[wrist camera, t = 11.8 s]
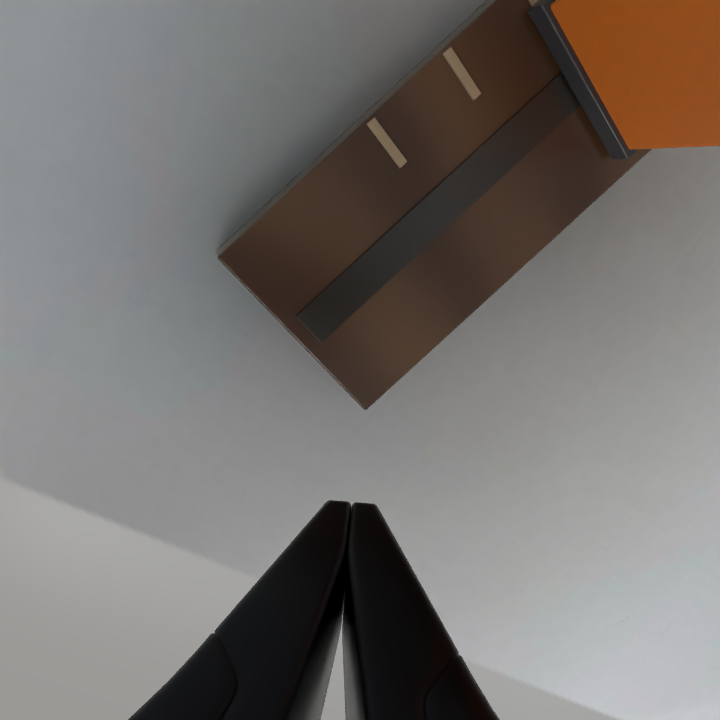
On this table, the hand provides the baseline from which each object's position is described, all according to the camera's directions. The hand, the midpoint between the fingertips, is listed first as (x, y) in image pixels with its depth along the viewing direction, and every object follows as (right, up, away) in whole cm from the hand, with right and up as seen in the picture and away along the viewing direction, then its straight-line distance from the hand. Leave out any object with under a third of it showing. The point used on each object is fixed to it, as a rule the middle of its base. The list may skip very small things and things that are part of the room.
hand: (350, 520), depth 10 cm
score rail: (+5, +11, +10) cm, 15 cm away
